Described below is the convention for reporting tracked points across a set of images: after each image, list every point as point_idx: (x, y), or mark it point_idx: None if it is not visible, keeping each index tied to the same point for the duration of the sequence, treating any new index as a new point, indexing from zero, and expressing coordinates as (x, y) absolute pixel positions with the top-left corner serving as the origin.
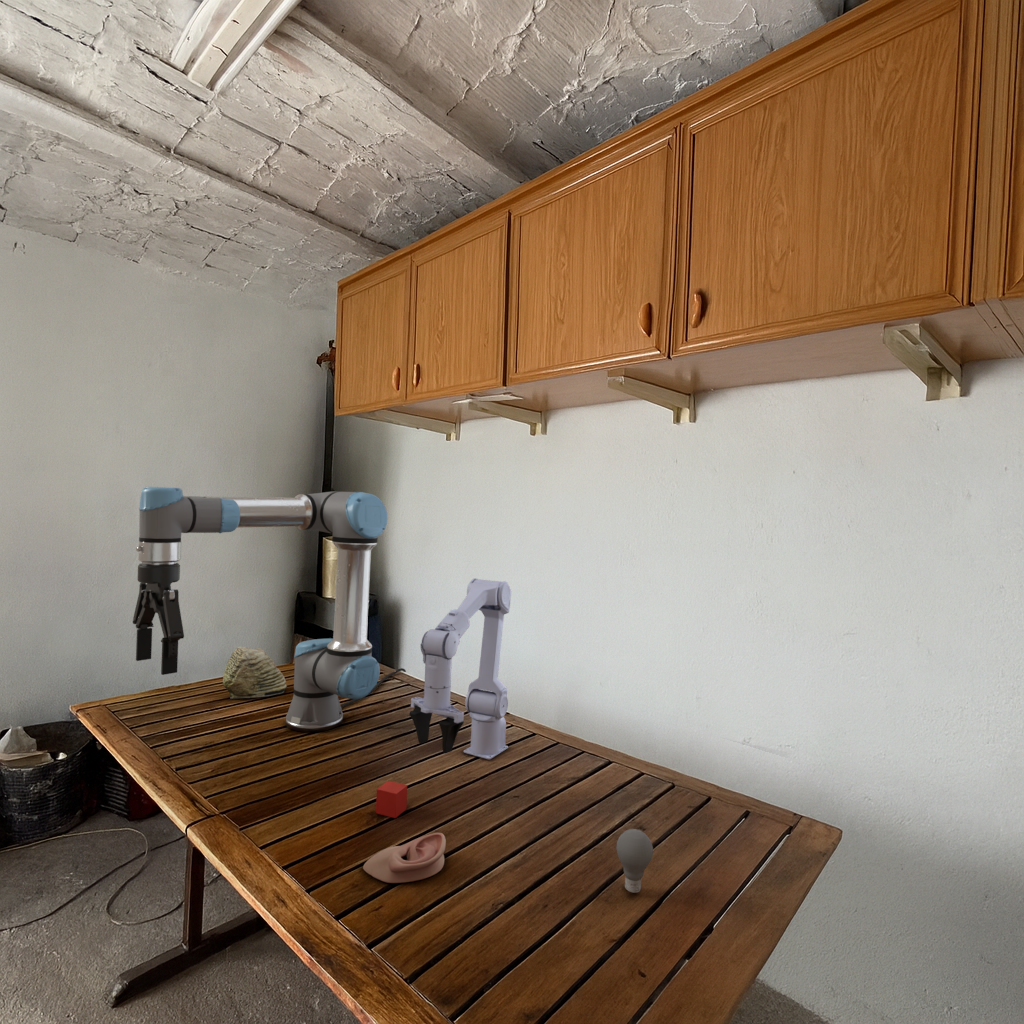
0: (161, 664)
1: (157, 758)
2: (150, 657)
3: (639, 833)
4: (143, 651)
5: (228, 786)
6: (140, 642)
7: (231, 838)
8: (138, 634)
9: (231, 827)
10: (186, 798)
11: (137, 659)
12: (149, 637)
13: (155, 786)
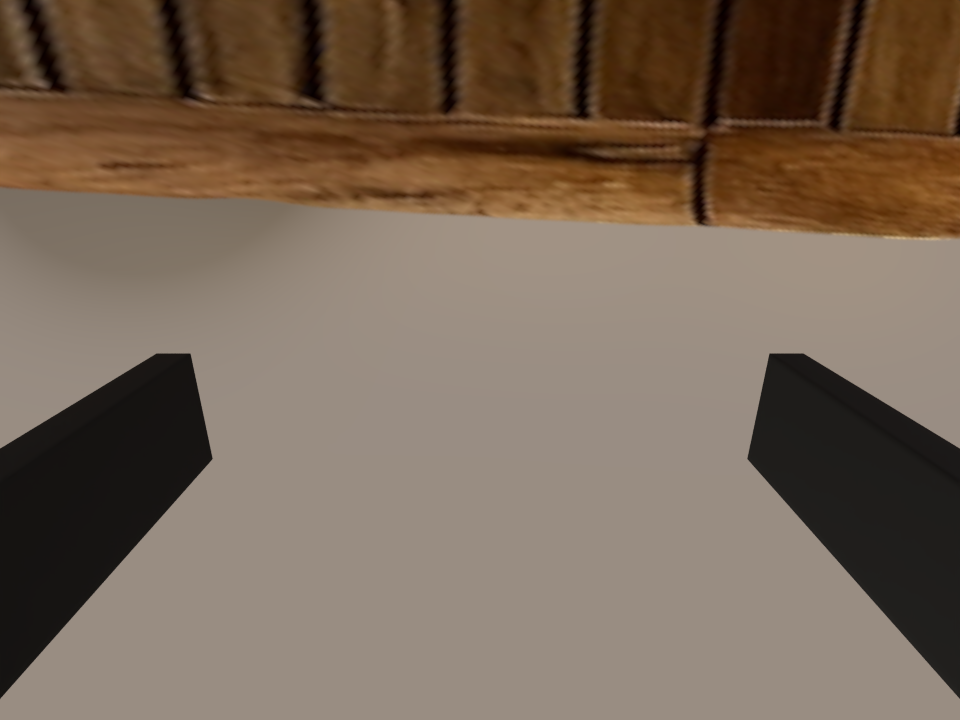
0: (790, 506)
1: (177, 110)
2: (182, 364)
3: None
4: (157, 457)
5: (560, 17)
6: (98, 552)
7: (853, 169)
8: (25, 664)
9: (804, 142)
10: (545, 162)
11: (204, 463)
12: (33, 498)
13: (403, 199)
